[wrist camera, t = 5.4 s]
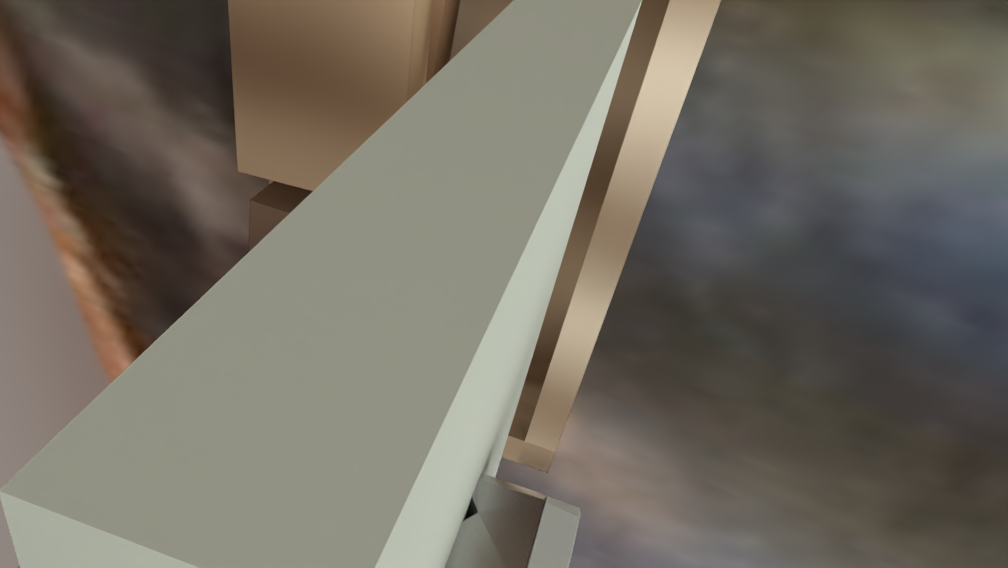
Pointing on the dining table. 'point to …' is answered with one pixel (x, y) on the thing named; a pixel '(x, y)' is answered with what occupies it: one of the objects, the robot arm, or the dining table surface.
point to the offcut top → (320, 79)
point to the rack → (601, 206)
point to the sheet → (351, 336)
